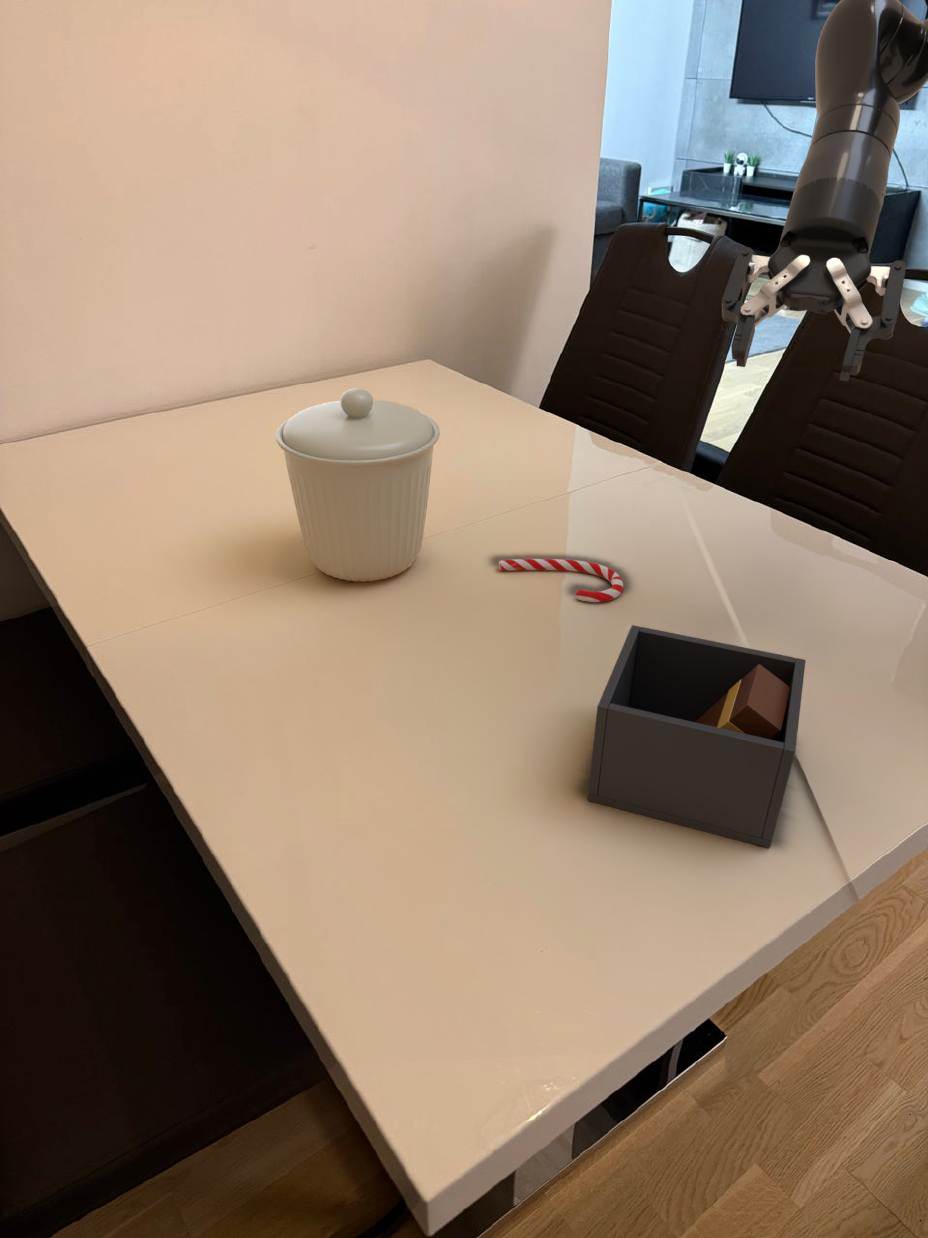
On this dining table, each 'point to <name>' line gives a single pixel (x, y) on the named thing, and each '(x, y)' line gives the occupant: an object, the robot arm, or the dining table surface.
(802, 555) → the dining table surface
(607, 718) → the waste bin
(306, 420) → the canister
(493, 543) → the dining table surface
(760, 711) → the chocolate box
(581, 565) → the candy cane
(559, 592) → the dining table surface
